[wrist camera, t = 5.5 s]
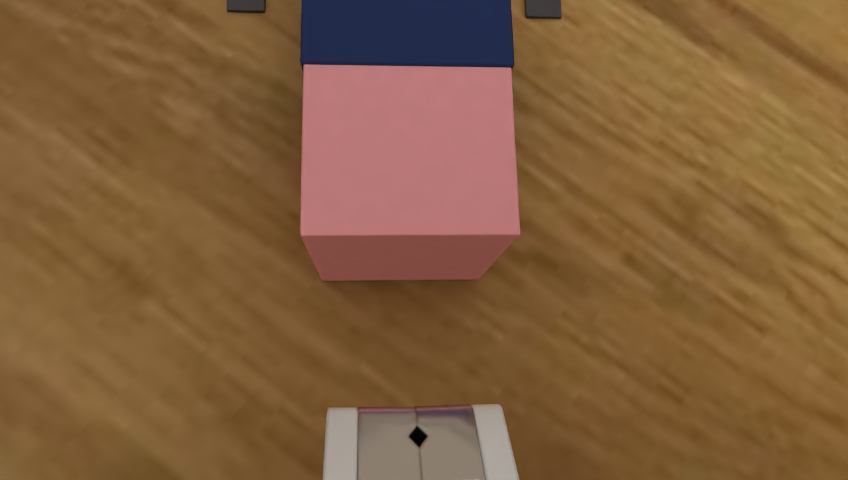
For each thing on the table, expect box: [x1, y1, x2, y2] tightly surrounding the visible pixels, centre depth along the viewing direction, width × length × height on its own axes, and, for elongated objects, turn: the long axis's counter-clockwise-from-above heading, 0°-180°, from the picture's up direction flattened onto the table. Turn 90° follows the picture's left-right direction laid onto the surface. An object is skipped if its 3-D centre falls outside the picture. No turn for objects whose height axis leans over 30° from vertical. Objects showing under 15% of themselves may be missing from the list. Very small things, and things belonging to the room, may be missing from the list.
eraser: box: [300, 0, 520, 281], centre depth 23 cm, size 13×6×8 cm, turn 1°
